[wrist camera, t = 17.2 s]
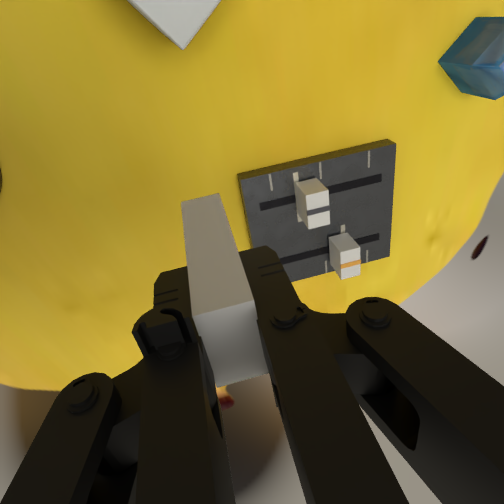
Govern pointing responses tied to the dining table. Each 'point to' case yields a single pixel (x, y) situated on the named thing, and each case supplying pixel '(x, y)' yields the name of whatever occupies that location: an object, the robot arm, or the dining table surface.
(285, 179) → the console
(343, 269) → the fader
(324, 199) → the fader
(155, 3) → the supplement box
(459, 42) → the perfume bottle
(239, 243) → the dining table surface
